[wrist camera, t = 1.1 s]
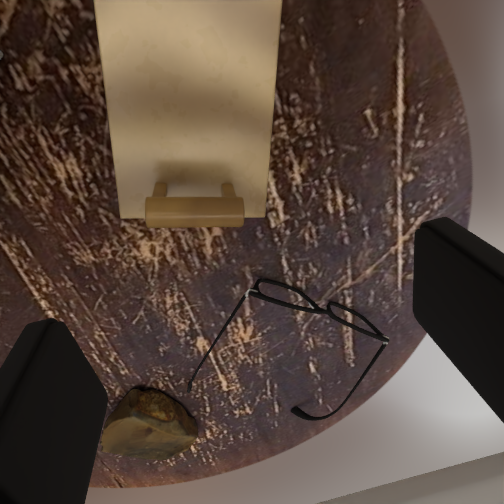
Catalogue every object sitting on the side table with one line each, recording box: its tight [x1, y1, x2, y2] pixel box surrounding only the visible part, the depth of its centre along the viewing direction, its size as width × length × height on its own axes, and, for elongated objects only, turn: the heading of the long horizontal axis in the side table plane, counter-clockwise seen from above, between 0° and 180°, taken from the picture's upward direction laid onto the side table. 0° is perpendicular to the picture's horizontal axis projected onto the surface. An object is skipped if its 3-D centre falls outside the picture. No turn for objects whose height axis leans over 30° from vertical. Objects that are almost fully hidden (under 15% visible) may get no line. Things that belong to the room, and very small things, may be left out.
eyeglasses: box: [187, 278, 389, 420], centre depth 36 cm, size 16×16×4 cm
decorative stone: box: [100, 389, 198, 460], centre depth 39 cm, size 10×9×4 cm
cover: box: [93, 0, 282, 228], centre depth 19 cm, size 13×9×6 cm
